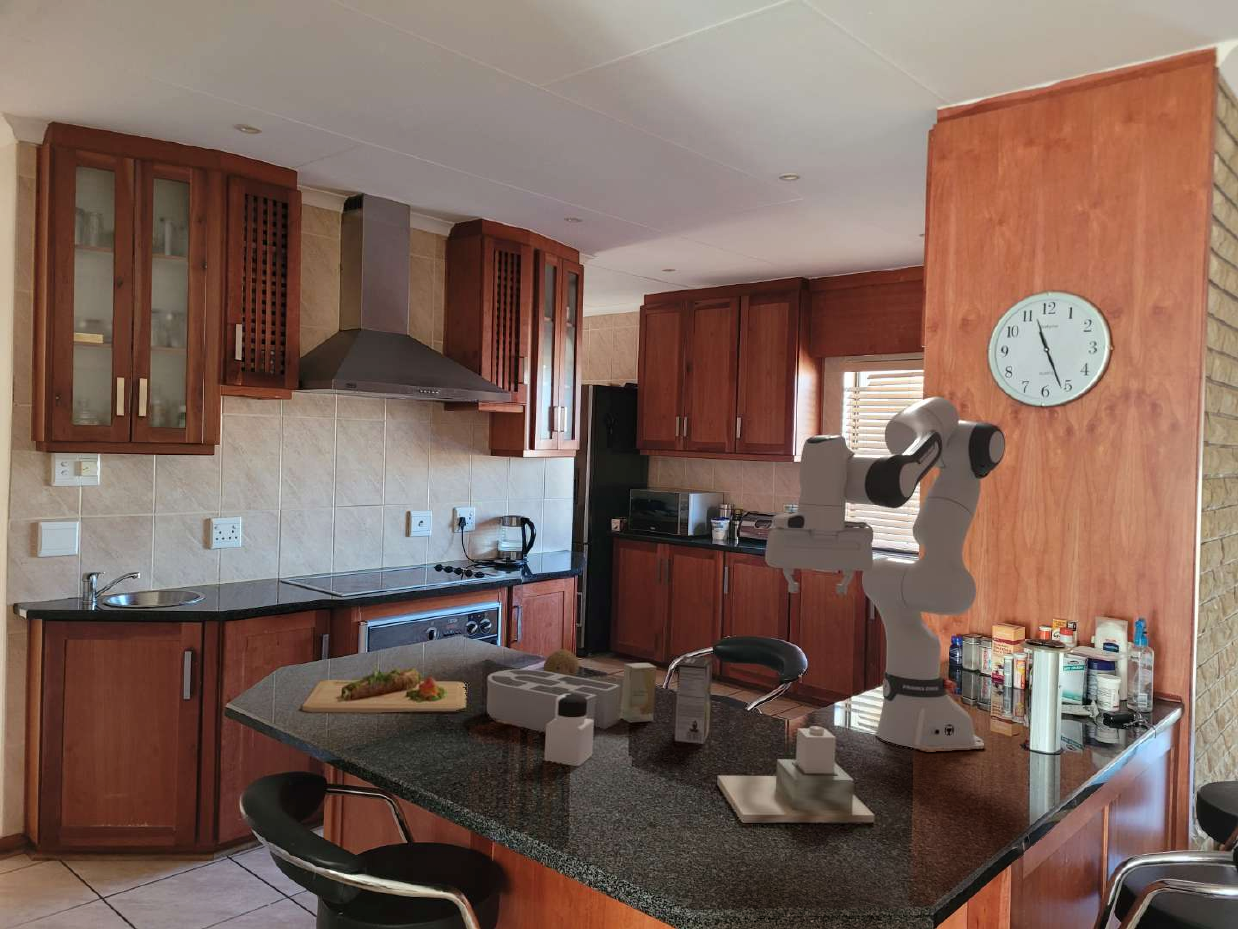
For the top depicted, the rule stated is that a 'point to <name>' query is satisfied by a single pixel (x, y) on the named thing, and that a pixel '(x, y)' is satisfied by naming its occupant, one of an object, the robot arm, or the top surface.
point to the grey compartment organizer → (547, 697)
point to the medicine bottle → (569, 732)
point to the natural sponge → (562, 663)
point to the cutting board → (387, 694)
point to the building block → (815, 750)
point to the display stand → (794, 796)
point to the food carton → (693, 699)
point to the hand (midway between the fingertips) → (817, 593)
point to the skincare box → (638, 692)
